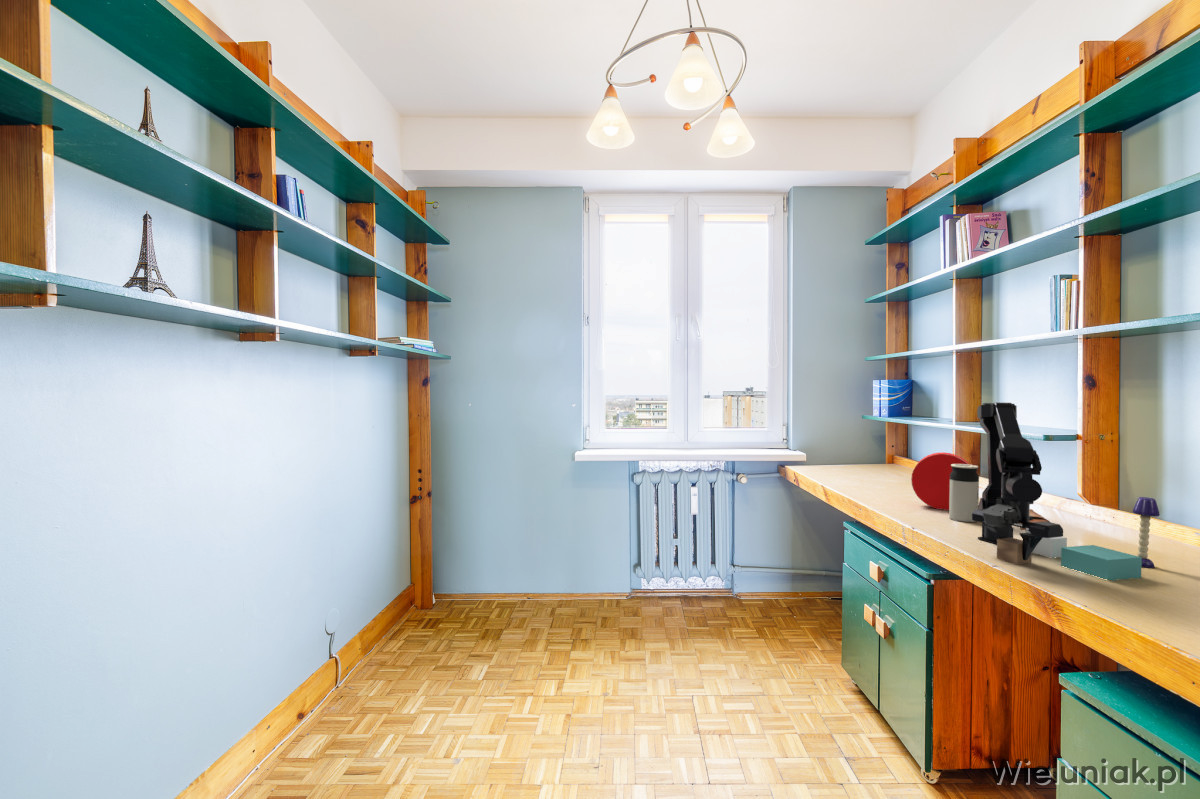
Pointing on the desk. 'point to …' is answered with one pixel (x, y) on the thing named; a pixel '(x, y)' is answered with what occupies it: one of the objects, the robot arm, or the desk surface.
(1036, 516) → the sunglasses case
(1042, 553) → the grey cube
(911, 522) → the desk surface
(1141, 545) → the toy lamp
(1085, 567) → the teal base block
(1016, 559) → the walnut cube
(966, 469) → the travel mug
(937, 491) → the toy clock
